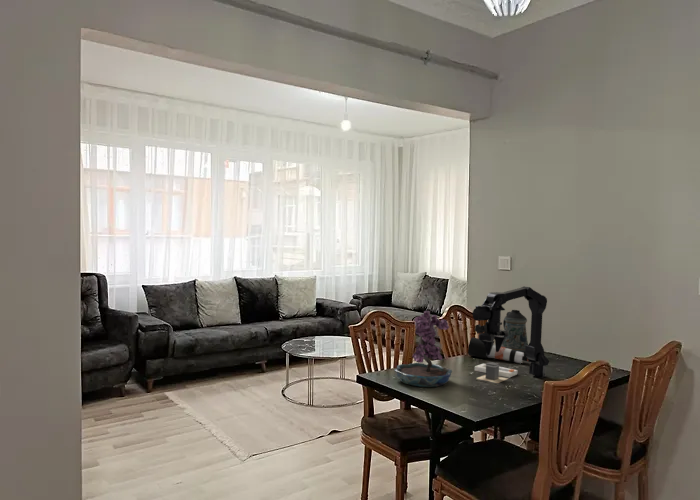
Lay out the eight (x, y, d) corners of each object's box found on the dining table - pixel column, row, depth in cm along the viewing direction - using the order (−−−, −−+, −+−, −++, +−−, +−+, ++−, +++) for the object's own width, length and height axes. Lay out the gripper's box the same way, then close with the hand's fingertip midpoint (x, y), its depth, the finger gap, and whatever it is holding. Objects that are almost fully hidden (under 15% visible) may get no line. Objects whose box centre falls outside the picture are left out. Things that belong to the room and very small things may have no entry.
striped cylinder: (530, 373, 282) (530, 359, 277) (468, 358, 298) (467, 344, 293) (534, 362, 289) (535, 347, 285) (473, 347, 305) (473, 333, 301)
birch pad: (508, 380, 249) (508, 378, 249) (497, 385, 241) (497, 383, 241) (486, 376, 257) (486, 374, 257) (475, 380, 248) (475, 378, 248)
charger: (498, 378, 249) (499, 363, 249) (494, 380, 246) (494, 365, 246) (489, 376, 252) (490, 361, 252) (485, 378, 249) (485, 363, 249)
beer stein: (519, 358, 298) (520, 313, 297) (489, 351, 313) (491, 309, 312) (535, 354, 308) (536, 311, 308) (506, 348, 323) (507, 307, 323)
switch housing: (517, 376, 258) (517, 368, 258) (509, 379, 251) (509, 371, 251) (483, 369, 270) (483, 362, 270) (474, 372, 263) (474, 365, 263)
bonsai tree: (433, 394, 225) (436, 317, 224) (380, 382, 241) (382, 310, 240) (469, 378, 252) (472, 309, 251) (419, 368, 269) (421, 303, 268)
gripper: (487, 316, 260) (486, 347, 261) (468, 319, 246) (467, 353, 247) (509, 318, 253) (507, 351, 254) (491, 322, 239) (489, 357, 239)
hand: (492, 353), depth 249 cm, fingers open, 9 cm apart
